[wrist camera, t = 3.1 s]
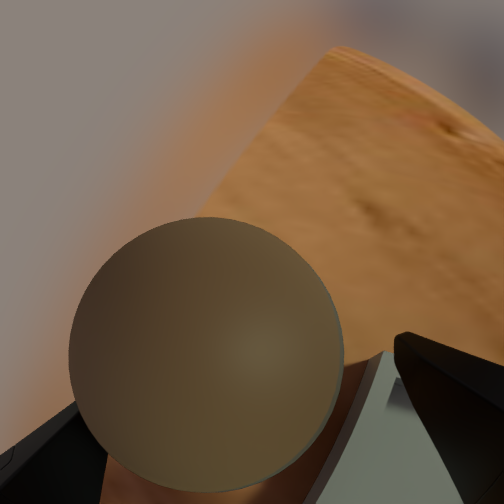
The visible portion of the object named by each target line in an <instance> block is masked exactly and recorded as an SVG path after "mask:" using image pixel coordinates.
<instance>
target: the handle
mask: <svg viewBox="0 0 504 504" xmlns="http://www.w3.org/2000/svg"><path fill="white" fill-rule="evenodd" d="M343 368H344V345H343V336H342V329H341V325H340V321H339V318H338V314H337V311H336V308H335V306H334V304H333V301H332V299H331V296H330V294H329V293H328V291H327V289H326V287H325V286H324V284H323V282H322V281H321V279H320V278H319V276H318V275H317V274H316V273H315V271H314V270H313V269H312V268H311V266H310V265H309V264H308V263H307V262H306V261H305V260H304V259H303V258H302V257H301V256H300V255H299V254H298V253H297V252H296V251H295V250H294V249H292V248H291V247H290V246H289V245H287V244H286V243H285V242H283V241H282V240H280V239H279V238H278V237H276V236H274V235H272V234H270V233H268V232H267V231H265V230H263V229H261V228H258V227H255V226H253V225H250V224H247V223H244V222H240V221H236V220H231V219H224V218H215V217H203V218H191V219H183V220H179V221H175V222H171V223H167V224H164V225H161V226H159V227H156V228H153V229H151V230H149V231H147V232H145V233H143V234H141V235H140V236H138V237H136V238H135V239H133V240H132V241H130V242H129V243H127V244H126V245H124V246H123V247H122V248H121V249H120V250H118V251H117V252H116V253H115V254H114V255H113V256H112V257H111V258H110V259H109V260H108V261H107V262H106V263H105V264H104V265H103V266H102V267H101V269H100V270H99V271H98V272H97V274H96V275H95V276H94V278H93V279H92V281H91V282H90V284H89V286H88V287H87V289H86V291H85V293H84V295H83V297H82V299H81V301H80V303H79V306H78V308H77V311H76V314H75V317H74V321H73V325H72V329H71V334H70V343H69V372H70V380H71V385H72V389H73V393H74V397H75V400H76V403H77V406H78V408H79V411H80V413H81V415H82V417H83V419H84V421H85V423H86V425H87V426H88V428H89V430H90V431H91V433H92V434H93V436H94V437H95V438H96V440H97V441H98V442H99V444H100V445H101V446H102V447H103V448H104V449H105V450H106V451H107V452H108V453H109V454H110V455H111V456H112V457H113V458H114V459H115V460H116V461H118V462H119V463H120V464H121V465H122V466H124V467H125V468H127V469H128V470H130V471H131V472H133V473H135V474H136V475H138V476H140V477H142V478H144V479H146V480H148V481H150V482H153V483H155V484H157V485H161V486H164V487H168V488H171V489H175V490H181V491H189V492H201V493H210V492H226V491H232V490H237V489H242V488H245V487H248V486H251V485H254V484H257V483H260V482H262V481H264V480H266V479H268V478H270V477H272V476H274V475H276V474H278V473H280V472H281V471H282V470H284V469H285V468H287V467H288V466H289V465H291V464H292V463H293V462H295V461H296V460H297V459H298V458H299V457H300V456H301V455H302V454H303V453H304V452H305V451H306V450H307V449H308V448H309V447H310V446H311V445H312V444H313V442H314V441H315V440H316V438H317V437H318V436H319V434H320V433H321V431H322V430H323V428H324V427H325V425H326V423H327V421H328V419H329V417H330V415H331V413H332V411H333V409H334V406H335V403H336V400H337V397H338V395H339V392H340V387H341V381H342V376H343Z"/></svg>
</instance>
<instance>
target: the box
mask: <svg viewBox="0 0 504 504" xmlns="http://www.w3.org/2000/svg"><path fill="white" fill-rule="evenodd" d="M302 504H463V501H462V499H461V497H460V495H459V493H458V491H457V489H456V487H455V485H454V483H453V481H452V479H451V477H450V475H449V473H448V471H447V469H446V467H445V465H444V463H443V461H442V459H441V457H440V455H439V453H438V452H437V450H436V448H435V446H434V444H433V442H432V440H431V438H430V437H429V435H428V433H427V431H426V429H425V427H424V426H423V424H422V422H421V420H420V418H419V417H418V415H417V413H416V411H415V409H414V408H413V406H412V404H411V401H410V399H409V397H408V394H407V392H406V389H405V387H404V385H403V382H402V380H401V378H400V375H399V373H398V371H397V368H396V366H395V363H394V354H393V353H390V352H387V351H382V352H381V353H379V354H377V355H375V356H374V357H372V358H370V359H369V361H368V364H367V367H366V369H365V372H364V375H363V378H362V380H361V383H360V386H359V388H358V391H357V393H356V396H355V398H354V401H353V403H352V406H351V408H350V410H349V413H348V415H347V417H346V420H345V422H344V424H343V426H342V429H341V431H340V433H339V435H338V437H337V439H336V442H335V444H334V446H333V448H332V450H331V452H330V454H329V456H328V458H327V460H326V462H325V464H324V466H323V468H322V470H321V471H320V473H319V475H318V477H317V479H316V481H315V483H314V484H313V486H312V488H311V490H310V491H309V493H308V495H307V497H306V498H305V500H304V502H303V503H302Z"/></svg>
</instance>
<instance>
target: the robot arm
mask: <svg viewBox="0 0 504 504" xmlns="http://www.w3.org/2000/svg"><path fill="white" fill-rule="evenodd" d="M394 363H395V366H396V368H397V371H398V373H399V375H400V378H401V380H402V382H403V385H404V387H405V389H406V392H407V394H408V397H409V399H410V401H411V404H412V406H413V408H414V409H415V411H416V413H417V415H418V417H419V418H420V420H421V422H422V424H423V426H424V427H425V429H426V431H427V433H428V435H429V437H430V438H431V440H432V442H433V444H434V446H435V448H436V450H437V452H438V453H439V455H440V457H441V459H442V461H443V463H444V465H445V467H446V469H447V471H448V473H449V475H450V477H451V479H452V481H453V483H454V485H455V487H456V489H457V491H458V493H459V495H460V497H461V499H462V501H463V504H504V366H502V365H499V364H496V363H493V362H490V361H488V360H485V359H482V358H479V357H476V356H474V355H471V354H468V353H465V352H463V351H460V350H457V349H454V348H452V347H449V346H446V345H444V344H441V343H438V342H435V341H433V340H430V339H427V338H425V337H422V336H419V335H417V334H414V333H411V332H404V333H401V334H398V335H396V336H395V339H394ZM107 458H108V452H107V451H106V450H105V449H104V448H103V447H102V446H101V445H100V444H99V442H98V441H97V440H96V438H95V437H94V436H93V434H92V433H91V431H90V430H89V428H88V426H87V425H86V423H85V421H84V419H83V417H82V415H81V413H80V411H79V408H78V406H77V403H76V401H74V402H73V403H72V404H70V405H69V406H67V407H66V408H65V409H63V410H62V411H61V412H59V413H58V414H57V415H55V416H54V417H52V418H51V419H50V420H48V421H47V422H46V423H44V424H43V425H42V426H40V427H39V428H37V429H36V430H35V431H33V432H32V433H31V434H29V435H28V436H26V437H25V438H24V439H22V440H21V441H20V442H18V443H17V444H16V445H15V446H13V447H11V448H10V449H8V450H7V451H5V452H4V453H3V454H1V455H0V504H99V503H100V496H101V490H102V485H103V479H104V473H105V468H106V463H107Z"/></svg>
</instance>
